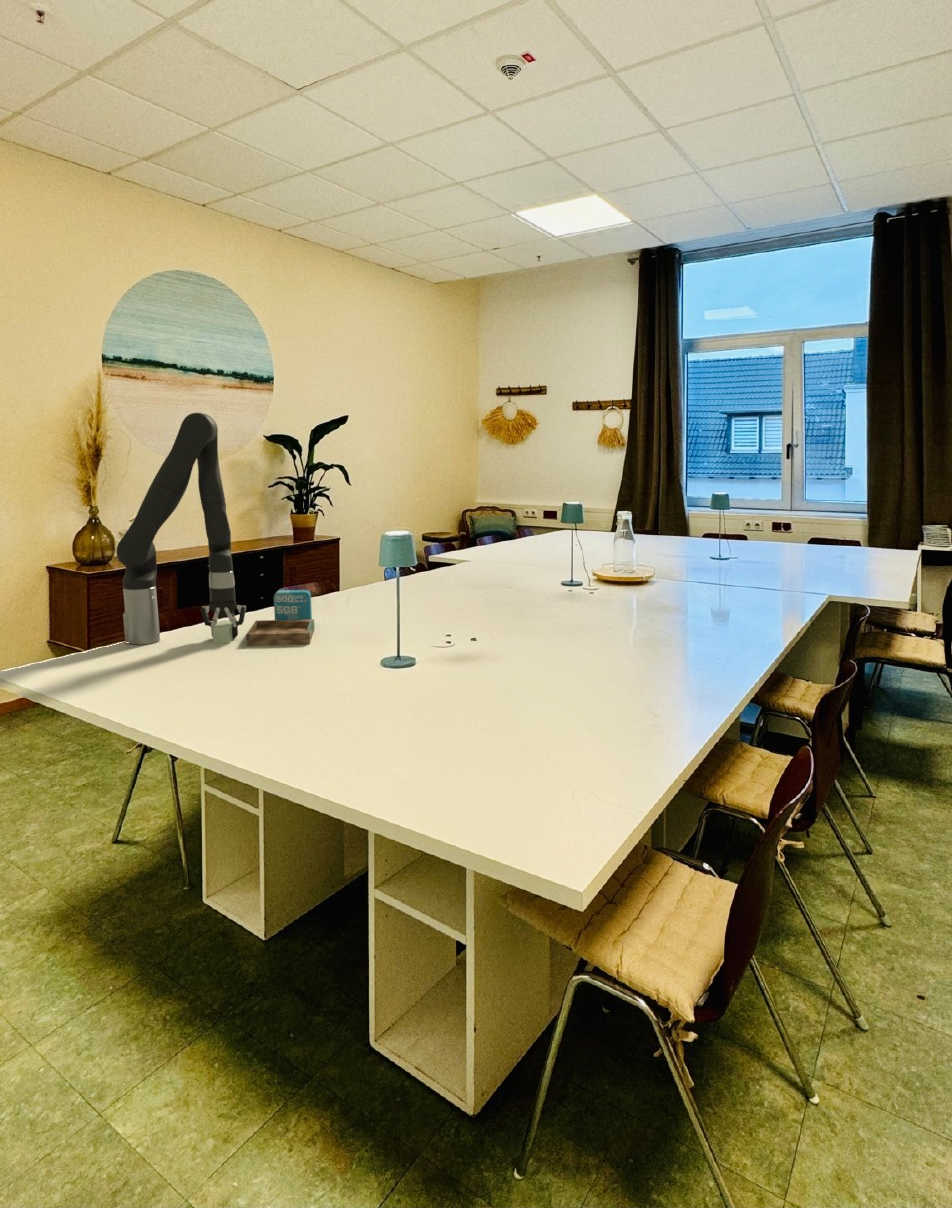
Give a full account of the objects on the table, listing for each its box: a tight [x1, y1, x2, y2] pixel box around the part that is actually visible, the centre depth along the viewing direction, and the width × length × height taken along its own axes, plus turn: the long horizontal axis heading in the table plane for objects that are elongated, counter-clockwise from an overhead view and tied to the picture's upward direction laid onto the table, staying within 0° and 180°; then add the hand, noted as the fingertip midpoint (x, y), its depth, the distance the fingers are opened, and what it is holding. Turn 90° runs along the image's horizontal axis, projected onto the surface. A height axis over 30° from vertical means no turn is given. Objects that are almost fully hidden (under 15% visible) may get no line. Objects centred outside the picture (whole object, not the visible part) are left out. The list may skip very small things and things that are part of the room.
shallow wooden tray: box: [246, 618, 315, 647], centre depth 234 cm, size 19×20×4 cm
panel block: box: [211, 620, 235, 644], centre depth 230 cm, size 5×10×5 cm, turn 6°
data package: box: [273, 589, 313, 620], centre depth 250 cm, size 12×4×12 cm, turn 97°
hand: (225, 637), depth 231 cm, fingers closed on panel block, 5 cm apart
